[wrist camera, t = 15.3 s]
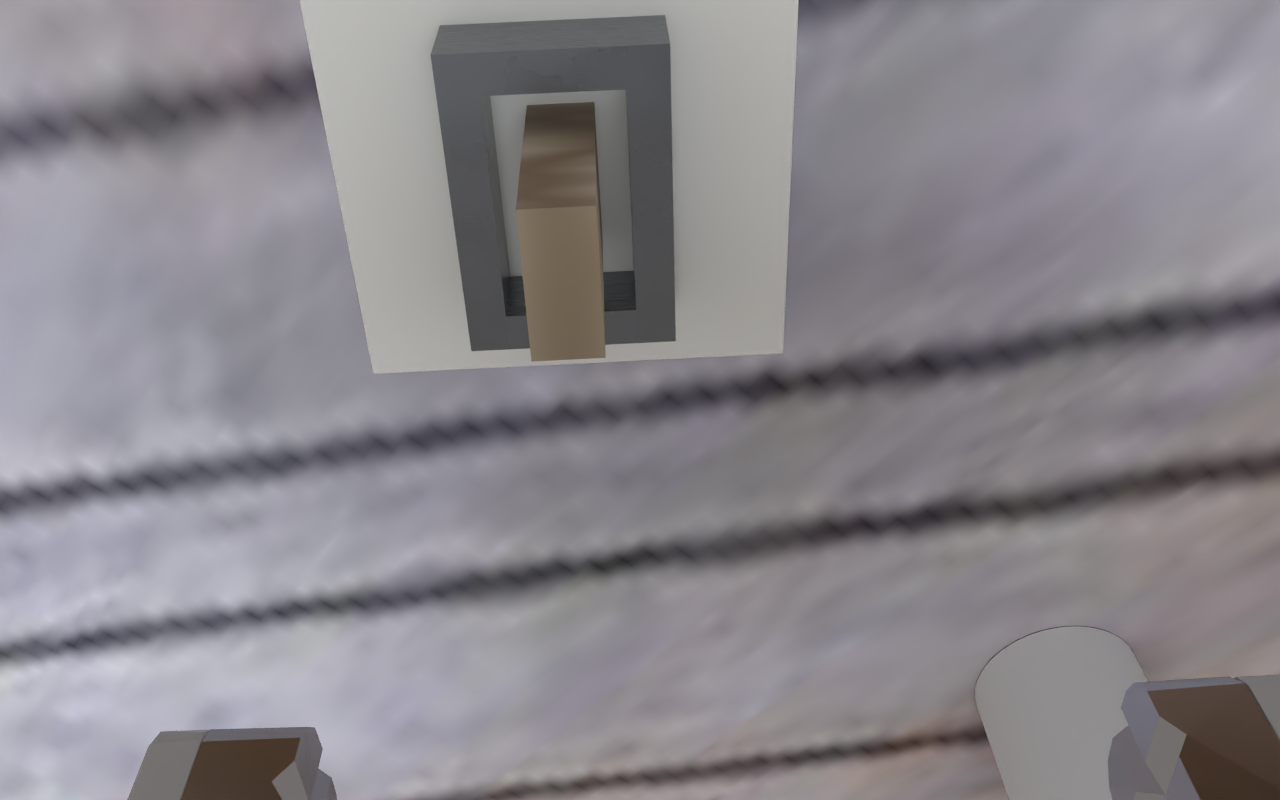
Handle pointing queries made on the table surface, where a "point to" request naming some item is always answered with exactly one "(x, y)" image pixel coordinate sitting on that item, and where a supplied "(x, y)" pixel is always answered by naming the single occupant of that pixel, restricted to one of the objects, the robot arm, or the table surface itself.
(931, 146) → the table surface
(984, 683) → the cylindrical container
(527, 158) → the wooden block
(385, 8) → the plate
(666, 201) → the frame
